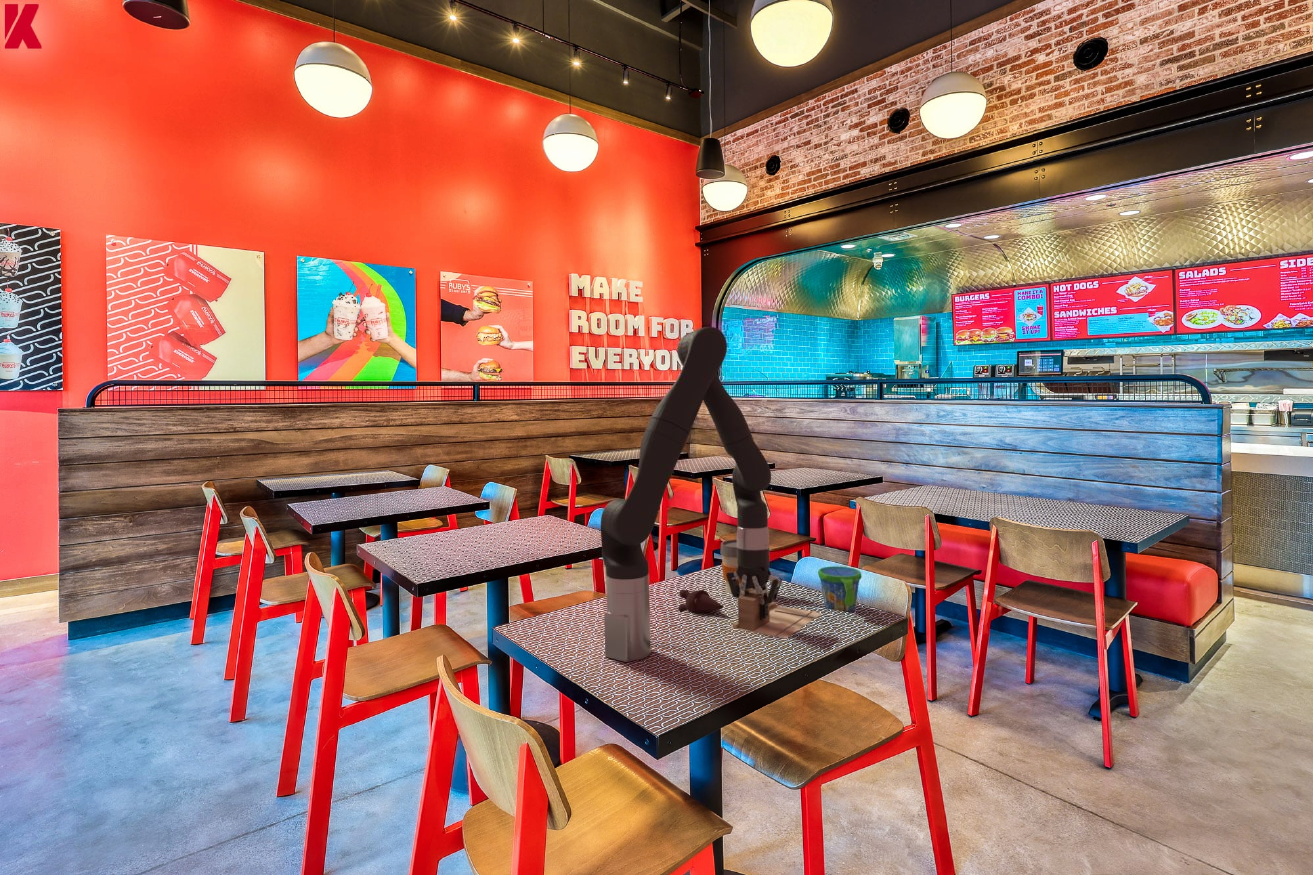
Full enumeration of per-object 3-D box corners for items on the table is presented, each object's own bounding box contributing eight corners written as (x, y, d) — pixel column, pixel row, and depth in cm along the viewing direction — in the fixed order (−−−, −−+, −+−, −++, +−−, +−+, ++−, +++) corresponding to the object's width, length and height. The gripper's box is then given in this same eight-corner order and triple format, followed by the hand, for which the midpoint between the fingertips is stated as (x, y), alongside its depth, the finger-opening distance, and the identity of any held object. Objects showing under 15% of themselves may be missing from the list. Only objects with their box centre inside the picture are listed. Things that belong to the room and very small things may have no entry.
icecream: (733, 592, 158) (690, 587, 169) (714, 591, 154) (670, 586, 164) (731, 621, 157) (687, 614, 168) (711, 621, 152) (668, 613, 163)
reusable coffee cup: (722, 603, 171) (721, 548, 171) (719, 590, 184) (718, 539, 183) (769, 602, 171) (768, 547, 170) (763, 589, 184) (762, 538, 183)
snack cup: (869, 619, 155) (868, 578, 155) (825, 619, 156) (825, 578, 155) (853, 601, 170) (852, 563, 170) (813, 601, 171) (813, 564, 171)
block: (753, 631, 144) (753, 600, 144) (738, 627, 147) (737, 598, 146) (771, 620, 151) (771, 591, 151) (756, 617, 154) (756, 589, 154)
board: (785, 645, 139) (785, 634, 139) (730, 633, 147) (729, 623, 147) (822, 619, 156) (822, 610, 156) (770, 610, 164) (770, 601, 164)
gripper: (718, 545, 149) (720, 616, 150) (773, 551, 141) (774, 627, 141) (734, 539, 155) (735, 608, 156) (787, 545, 147) (789, 618, 147)
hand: (754, 617), depth 149 cm, fingers closed on block, 4 cm apart
